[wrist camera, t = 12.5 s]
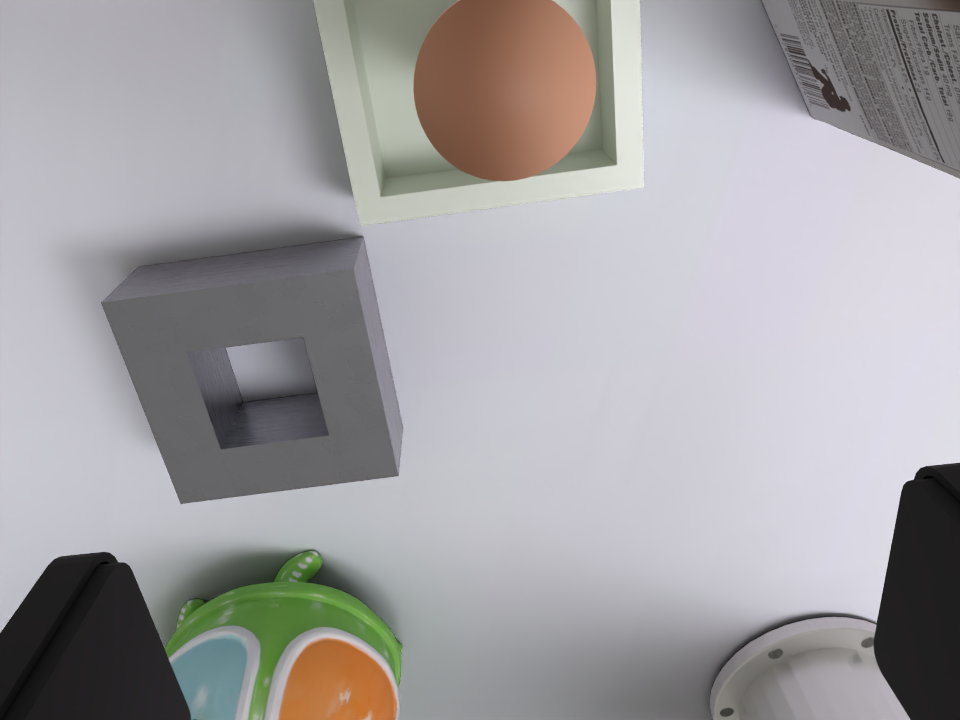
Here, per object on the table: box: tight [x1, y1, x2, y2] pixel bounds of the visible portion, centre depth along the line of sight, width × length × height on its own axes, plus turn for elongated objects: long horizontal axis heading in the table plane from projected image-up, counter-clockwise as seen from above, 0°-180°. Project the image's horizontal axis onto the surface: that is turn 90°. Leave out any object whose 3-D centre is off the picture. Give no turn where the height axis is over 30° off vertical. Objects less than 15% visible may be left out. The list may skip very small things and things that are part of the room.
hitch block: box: [101, 237, 403, 504], centre depth 33 cm, size 10×10×4 cm
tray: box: [313, 0, 644, 226], centre depth 27 cm, size 11×11×4 cm
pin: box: [413, 0, 596, 181], centre depth 23 cm, size 4×4×12 cm
